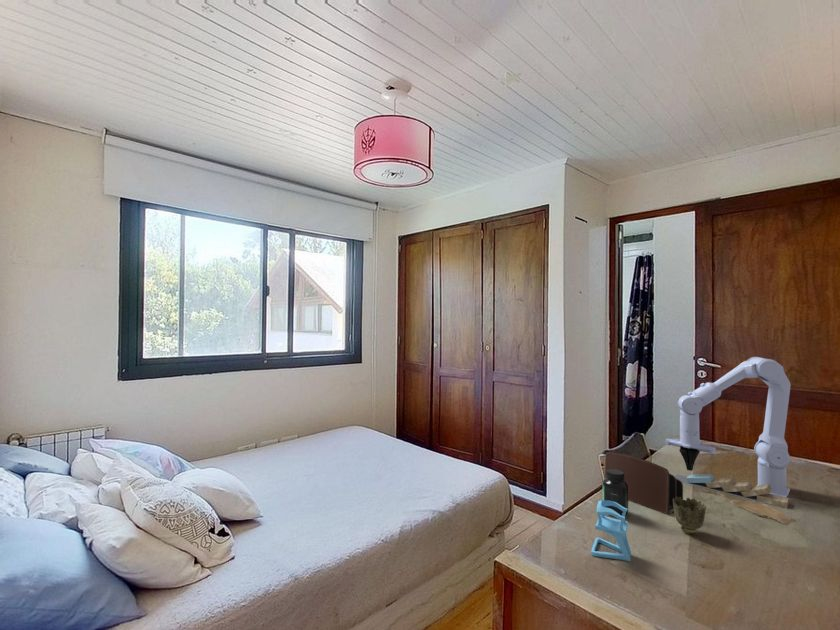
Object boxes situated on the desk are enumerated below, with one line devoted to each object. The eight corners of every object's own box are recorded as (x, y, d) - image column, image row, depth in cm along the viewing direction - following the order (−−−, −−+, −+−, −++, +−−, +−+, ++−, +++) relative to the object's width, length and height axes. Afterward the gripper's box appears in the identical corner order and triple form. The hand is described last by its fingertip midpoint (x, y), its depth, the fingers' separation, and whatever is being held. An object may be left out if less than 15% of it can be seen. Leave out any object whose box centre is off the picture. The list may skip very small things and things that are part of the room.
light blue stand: (629, 566, 94) (629, 514, 94) (590, 555, 98) (591, 505, 98) (632, 550, 100) (632, 501, 100) (595, 540, 105) (596, 493, 105)
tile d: (756, 495, 127) (786, 502, 122) (759, 491, 130) (788, 498, 125) (756, 500, 127) (787, 508, 122) (759, 496, 130) (788, 503, 125)
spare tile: (686, 478, 141) (709, 477, 136) (690, 474, 144) (712, 474, 139) (687, 482, 141) (711, 482, 136) (691, 479, 144) (714, 478, 139)
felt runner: (677, 475, 149) (677, 474, 149) (770, 498, 129) (770, 497, 129) (671, 480, 144) (671, 479, 144) (767, 505, 125) (767, 503, 125)
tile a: (705, 482, 137) (729, 481, 132) (709, 479, 140) (732, 477, 135) (707, 487, 136) (731, 486, 132) (711, 484, 140) (734, 482, 135)
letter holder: (668, 516, 118) (668, 467, 118) (604, 492, 135) (603, 449, 135) (683, 507, 124) (683, 460, 124) (620, 485, 140) (620, 444, 140)
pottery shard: (779, 529, 111) (779, 523, 111) (725, 504, 127) (725, 498, 127) (802, 526, 113) (801, 520, 113) (746, 501, 128) (746, 496, 128)
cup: (701, 527, 111) (700, 498, 111) (710, 541, 104) (710, 510, 104) (669, 523, 114) (669, 494, 114) (676, 536, 107) (676, 506, 107)
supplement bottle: (599, 512, 120) (598, 471, 120) (607, 505, 125) (606, 465, 125) (624, 520, 115) (623, 477, 115) (631, 512, 120) (631, 471, 120)
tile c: (741, 491, 130) (766, 488, 125) (744, 487, 133) (768, 483, 128) (743, 497, 129) (769, 493, 125) (746, 493, 132) (771, 489, 128)
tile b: (722, 487, 134) (747, 485, 129) (725, 483, 137) (750, 481, 132) (724, 492, 133) (749, 490, 128) (727, 488, 136) (752, 486, 131)
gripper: (662, 428, 145) (662, 466, 145) (711, 437, 134) (712, 478, 134) (669, 425, 150) (669, 462, 150) (716, 433, 139) (717, 473, 139)
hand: (689, 469), depth 142 cm, fingers closed
